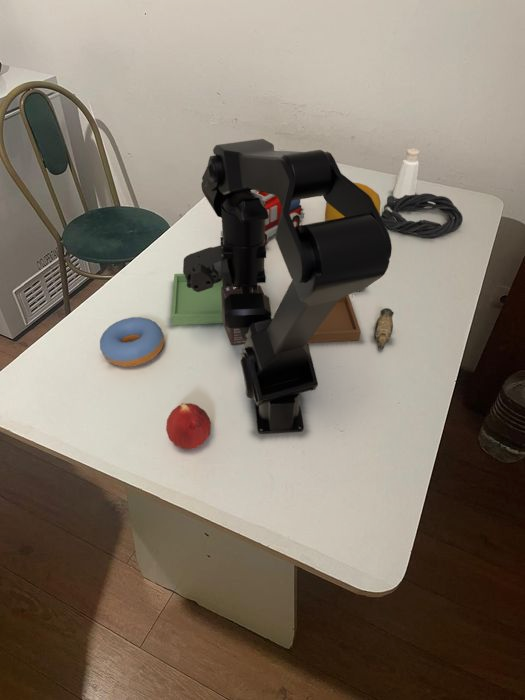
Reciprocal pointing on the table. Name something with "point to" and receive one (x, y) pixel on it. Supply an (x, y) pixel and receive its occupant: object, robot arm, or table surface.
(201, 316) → the produce tray
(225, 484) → the table surface
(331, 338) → the walnut tray
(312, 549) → the table surface
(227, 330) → the box
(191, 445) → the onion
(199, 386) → the table surface
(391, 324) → the cat figurine
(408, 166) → the pepper shaker
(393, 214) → the cable
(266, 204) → the toy fire truck
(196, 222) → the table surface
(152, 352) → the doughnut
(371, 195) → the apple
